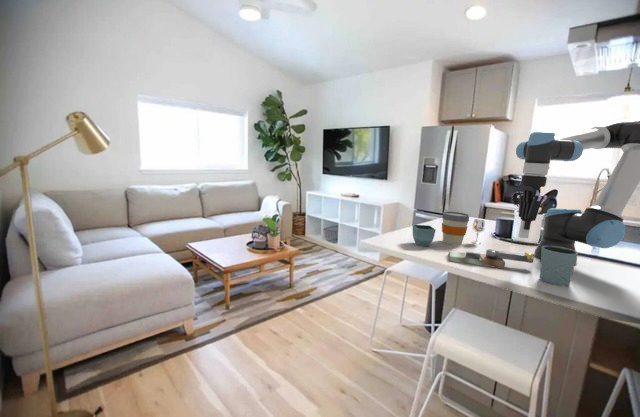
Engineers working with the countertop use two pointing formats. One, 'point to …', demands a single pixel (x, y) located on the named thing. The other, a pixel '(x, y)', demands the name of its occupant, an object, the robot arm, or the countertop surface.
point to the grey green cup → (557, 265)
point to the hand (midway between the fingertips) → (523, 237)
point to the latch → (510, 256)
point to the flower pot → (423, 234)
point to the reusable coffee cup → (454, 227)
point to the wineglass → (478, 228)
